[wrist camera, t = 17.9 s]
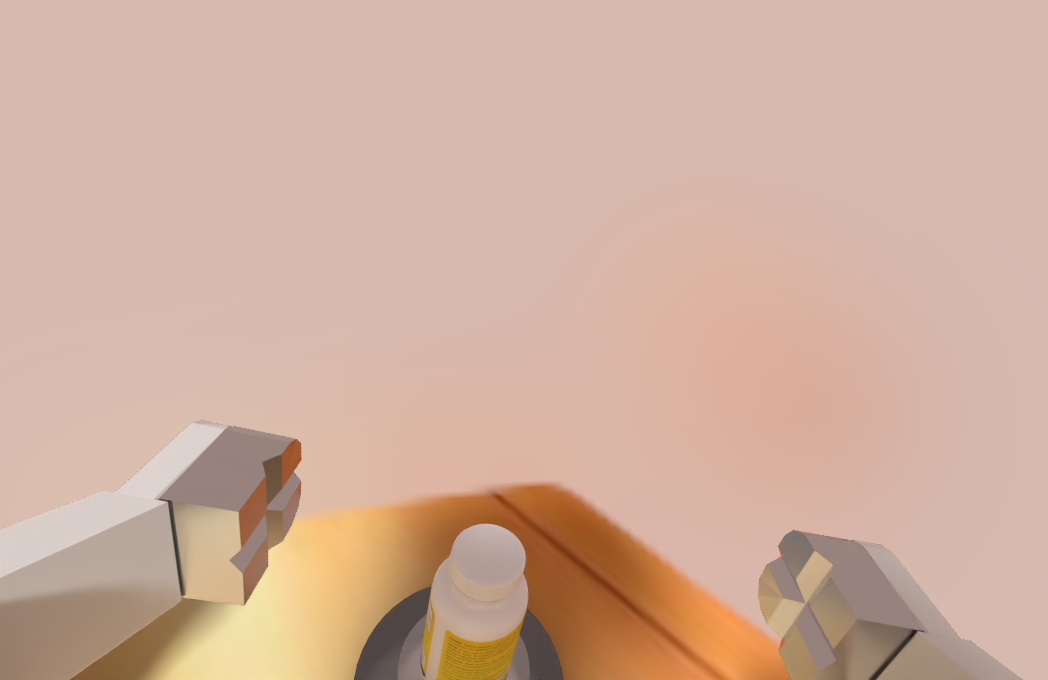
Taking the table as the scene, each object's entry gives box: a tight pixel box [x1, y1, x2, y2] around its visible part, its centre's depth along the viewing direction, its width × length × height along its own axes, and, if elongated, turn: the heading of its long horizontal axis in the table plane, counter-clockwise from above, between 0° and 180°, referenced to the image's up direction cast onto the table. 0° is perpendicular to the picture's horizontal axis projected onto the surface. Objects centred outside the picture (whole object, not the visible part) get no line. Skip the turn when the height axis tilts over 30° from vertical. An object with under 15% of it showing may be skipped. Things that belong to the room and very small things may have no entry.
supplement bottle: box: [420, 524, 528, 680], centre depth 28 cm, size 5×5×10 cm
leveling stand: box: [354, 587, 563, 680], centre depth 31 cm, size 13×13×3 cm
